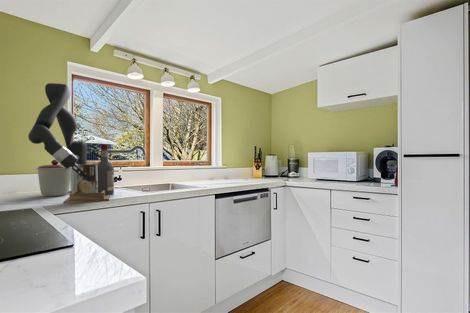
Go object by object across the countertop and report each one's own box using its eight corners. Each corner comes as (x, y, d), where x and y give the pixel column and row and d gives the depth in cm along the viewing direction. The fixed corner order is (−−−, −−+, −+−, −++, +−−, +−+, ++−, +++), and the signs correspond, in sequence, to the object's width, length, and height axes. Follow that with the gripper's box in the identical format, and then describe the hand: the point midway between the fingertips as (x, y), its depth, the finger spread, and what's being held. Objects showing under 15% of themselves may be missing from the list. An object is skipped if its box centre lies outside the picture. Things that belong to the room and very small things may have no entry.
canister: (78, 194, 166) (78, 159, 166) (44, 198, 151) (44, 160, 151) (64, 192, 176) (63, 159, 177) (30, 196, 162) (30, 160, 162)
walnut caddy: (68, 198, 149) (68, 191, 149) (109, 196, 157) (109, 189, 157) (63, 203, 135) (63, 195, 135) (108, 200, 142) (108, 192, 142)
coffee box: (98, 194, 150) (98, 164, 150) (96, 195, 144) (96, 164, 144) (79, 194, 148) (79, 164, 148) (76, 196, 141) (76, 164, 141)
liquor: (94, 196, 160) (93, 144, 160) (98, 194, 169) (98, 144, 169) (111, 195, 162) (110, 144, 162) (114, 193, 170) (114, 144, 171)
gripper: (69, 152, 136) (95, 175, 141) (73, 152, 150) (97, 174, 154) (56, 163, 134) (84, 186, 139) (62, 162, 148) (87, 183, 152)
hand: (91, 179), depth 146 cm, fingers closed on coffee box, 7 cm apart
